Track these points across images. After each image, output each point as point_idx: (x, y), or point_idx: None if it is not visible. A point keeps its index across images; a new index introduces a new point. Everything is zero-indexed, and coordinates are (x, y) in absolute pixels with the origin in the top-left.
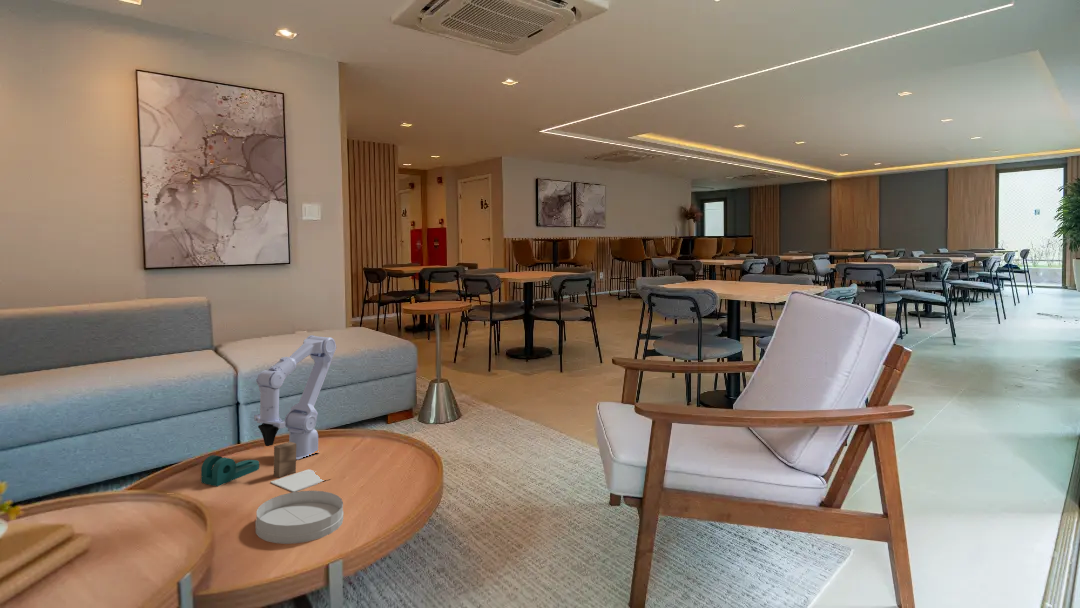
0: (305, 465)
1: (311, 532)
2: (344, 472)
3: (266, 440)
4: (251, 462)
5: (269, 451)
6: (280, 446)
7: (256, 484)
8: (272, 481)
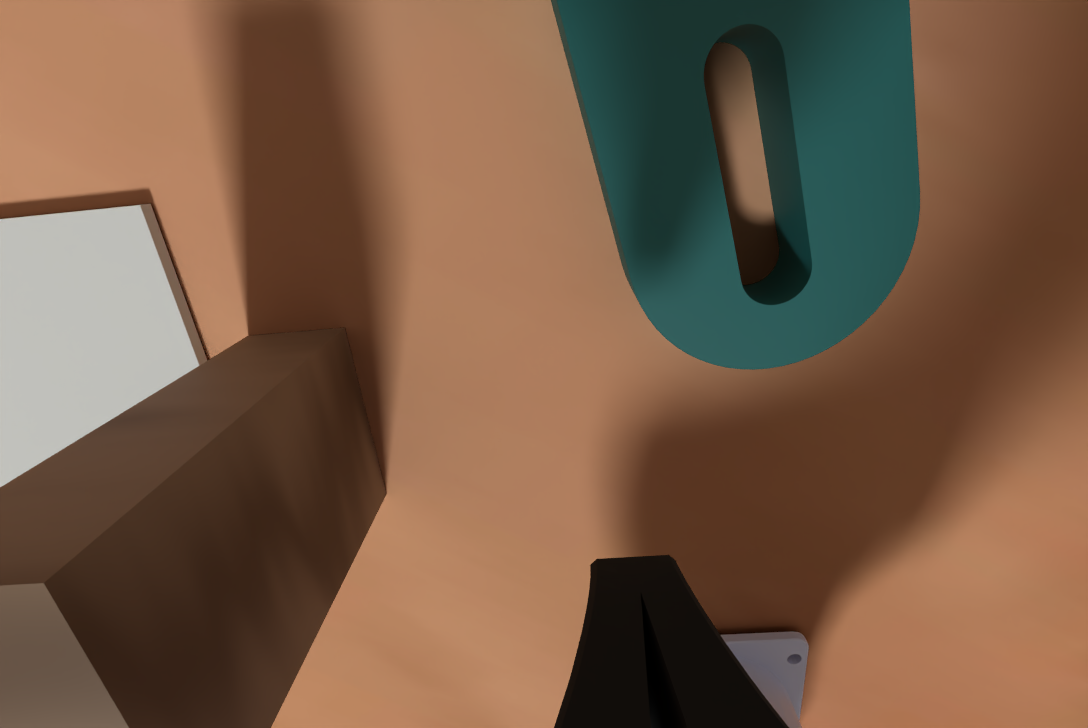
0: (425, 623)
1: None
2: None
3: (589, 652)
4: (783, 297)
5: (1014, 603)
6: None
7: (186, 57)
8: (130, 222)
